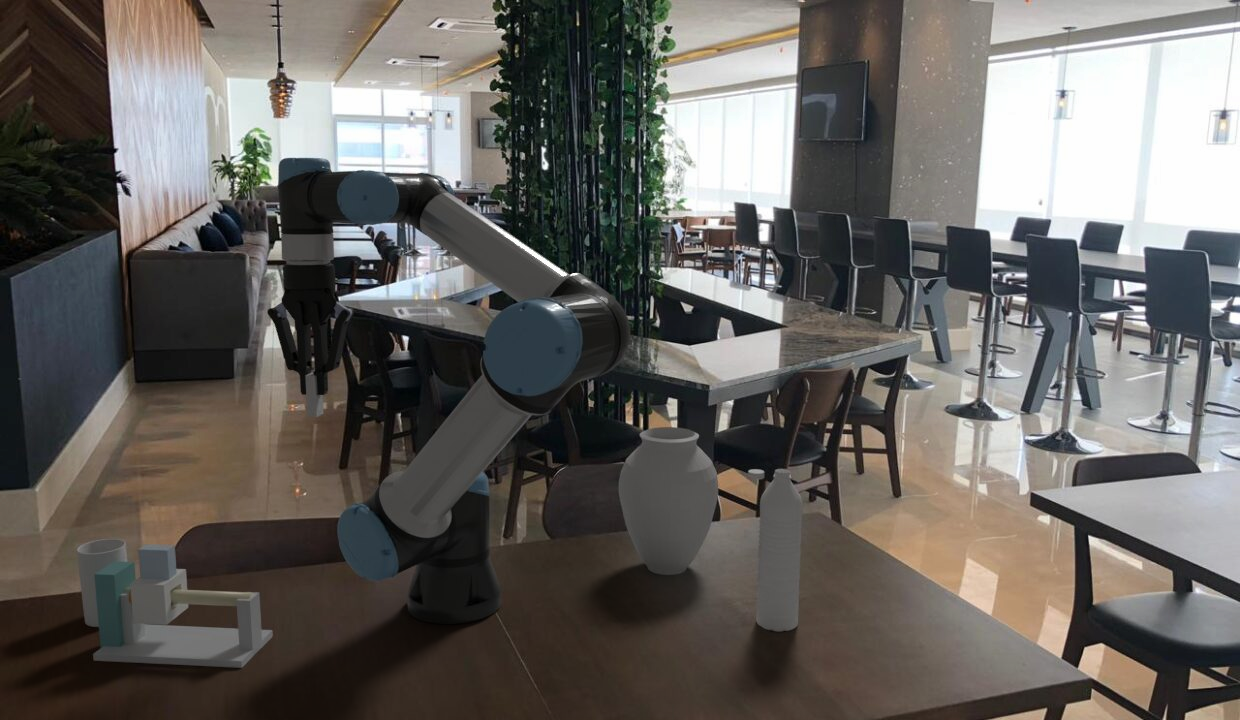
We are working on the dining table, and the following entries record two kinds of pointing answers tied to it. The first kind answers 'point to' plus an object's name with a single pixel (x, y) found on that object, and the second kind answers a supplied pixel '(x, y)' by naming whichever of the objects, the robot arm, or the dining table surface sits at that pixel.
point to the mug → (96, 570)
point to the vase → (668, 498)
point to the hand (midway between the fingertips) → (315, 415)
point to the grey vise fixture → (174, 642)
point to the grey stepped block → (157, 586)
